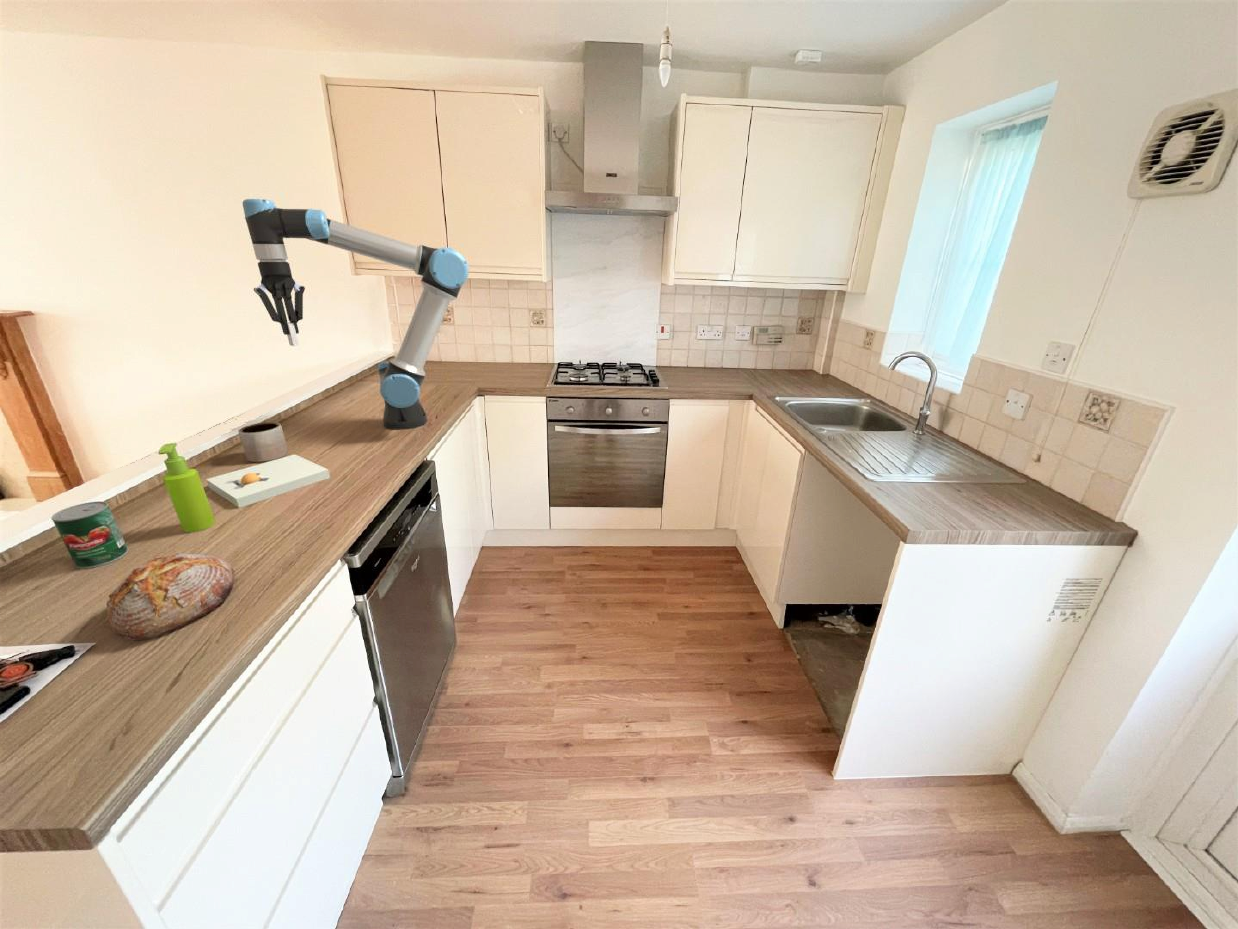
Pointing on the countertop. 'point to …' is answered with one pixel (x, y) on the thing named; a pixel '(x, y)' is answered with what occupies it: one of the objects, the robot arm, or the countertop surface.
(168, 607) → the bread
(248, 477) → the ball
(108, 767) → the countertop surface
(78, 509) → the canned tomato
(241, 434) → the planter
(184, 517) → the soap dispenser
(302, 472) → the plate
